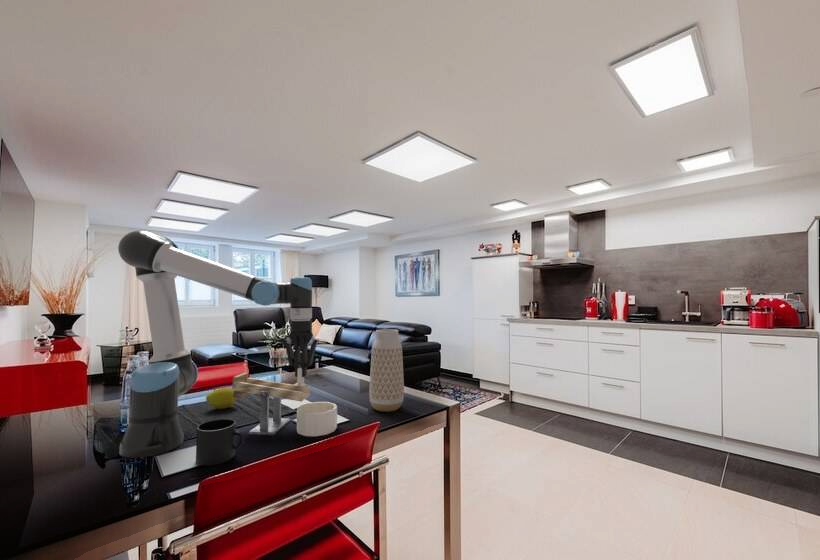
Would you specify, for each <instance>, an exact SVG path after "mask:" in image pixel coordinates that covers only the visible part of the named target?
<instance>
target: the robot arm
mask: <svg viewBox="0 0 820 560" xmlns="http://www.w3.org/2000/svg"><path fill="white" fill-rule="evenodd" d="M117 250H118V254H119V257H120V258H121V260H123V262H125V263H126V264H127V265H129V266H131V267H133V268H135V276H136V279H138V280H139V281H141V282H142V284H143V290H144V296H145V297H144V298H145V302H146V303H145V304H146V305H145V306H146V310H147V317H148V322H149V323H148V324H149V330H150V338H151V346H152V352H153V355H152V357H150V359H149V360H148V364H144V365H141V366H139V367H137V368H135V369H133V371H132V372H131V373H130V378H129V379H130V380H129V382H128V385H129V386H128V387H129V400H128V401H129V403H128V405H129V406H128V424H127V426H126V429H125V432H124V435H123V437H122V440H121V442H120V444H119V456H121V457H123V458H129V459H138V458H139V459H140V458H146V457H147V458H148V457H154V456H157V455H161V454H164V453H167V452H170V451H172V450H174V449H176V448H178V447H179V446H181V445H182V444H183V443H184V435H185V434H184V431H183V430H182V427H181V426H182V425H181V423H180V421H179V417H178V409H179V408H178V407H179V398H180V397H181V396H182V395H185V394H186V393H188V391H190V390H191V388H193V386H194V385H195V384H196V382H197V380H198V376H199V370H198V367H197V365H196V363H195V362H194V361H193V360H192V355H191V354H192V353H191V352H190V351H188V350H187V349H186V348H185V342H184V337H183V336H184V335H183V330H182V329H183V328H182V321H181V314H180V306H179V300H178V294H177V288H176V281H175V280H176V278H177V276H178V277H180V278H184V279H187V280H190V281H193V282H196V283H199V284H201V285H204V286H207V287H211V288H213V289H217V290H219V291H222V292H226V293H229V294H231V295H233V296H234V295H235V296H236V297H237V296H238V297H241V298H243V299H247V300H249V301H252V302H254V303H255V304H258V305H260V306H265V307H267V306H271V305H281V304H282V305H285V304H286V305H287V304H290V305H289V307H290V309H289V311H290V313H289V314H290V315H289V317H290V318H289V319H291V321H290V323H289V329H290V330H289V331H290V332H289V334H288V337H287V338H285V339H283V340H282V343H283V345H284V347H285V351H286V355H287V360H288V364H289V366H290V367H293V368H294V377H295V378H296V379H297V382H296V383H297V386H304V384H305V378H306V377H307V374H308V370H307V368H308V367H310V366H312V365H313V361H314V357H315V353H316V349H317V345H319V342H320V339H319V338H316V337H315V336H314V335H313V321H312V320H311V319H312V318H313V283H312V282H313V281H312V279H311V278H310V277H307V276H306V277H305V276H300V277H299V276H297V277H294V276H293V277H290V281H289V282H272V281H269V280H266V279H263V278H260V277H257V276H254V275H252V274H249V273H246V272H243V271H240V270H237V269H236V268H232V267H229V266H227V265H224V264H222V263H218V262H215V261H212V260H209V259H207V258H204V257H201V256H198V255H196V254H192V253H190V252H187V251H184V250H181V249H180V248H179V247H178V245H177V243H175V242H174V241H173V240H171V239H170V238H168V237H165V236H162V235H158V234H155V233H153V232H151V231H147V230H134V231H130V232H128V233H127V234H125V235H124V236H123V237H122V238H121V239H120V241H119V243H118V247H117ZM309 343H310V344H311V345H310V348H309V352H308V346H309ZM292 344H293V346H292ZM293 349H294V350H293Z"/></svg>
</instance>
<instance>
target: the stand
mask: <svg viewBox="0 0 820 560" xmlns="http://www.w3.org/2000/svg"><path fill="white" fill-rule="evenodd" d="M272 398H273V399H272V400H273V403H272V406H273V407H272V417H270V414H269V413H270V412H269V411H270V396H269V391H261V395H260V405H259V410H260V411H259V412H260V413H259V424H258V425H256V426H255V427H254V428H252V429H251V430H249V431H248V435H256V436H257V435H259V436H261V435H263V436H266V435H267V436H274V435H276V433H278V432H279V431H280V430H281V429H282V428H283V427H285V426H286V425H287V424H288V423H289V422H291V418H288V417H287V418H286V417H285V418H284V417H282V398H277V397H272Z"/></svg>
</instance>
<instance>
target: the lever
mask: <svg viewBox="0 0 820 560" xmlns="http://www.w3.org/2000/svg"><path fill="white" fill-rule="evenodd" d="M231 389H232V390H233V391H234V394H233V397H235V398H237V399H243V398H245V397H247V396H249V395H251V394H253V395H260V396H261V391H269V398H270V397H272V398H273V397H277V398H281V399H284V400H290V401H294V402H295V401H296V402H303V401H304V400H305V399H307V398H308V397H309V396H310V393H311V392H310V391H311V387H309V386H308V384H306V383H304V386H297V382H296V383H294V384H292V383H283V382H278V381H272V380H266V379H258V378H253V377H249V372H242V373H240V374H238V375H235V376H233V378H232V385H231Z"/></svg>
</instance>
